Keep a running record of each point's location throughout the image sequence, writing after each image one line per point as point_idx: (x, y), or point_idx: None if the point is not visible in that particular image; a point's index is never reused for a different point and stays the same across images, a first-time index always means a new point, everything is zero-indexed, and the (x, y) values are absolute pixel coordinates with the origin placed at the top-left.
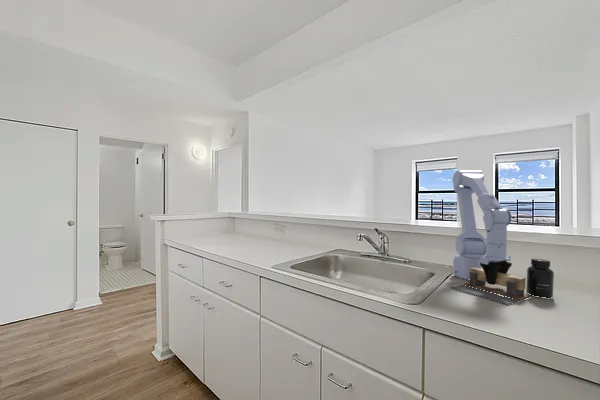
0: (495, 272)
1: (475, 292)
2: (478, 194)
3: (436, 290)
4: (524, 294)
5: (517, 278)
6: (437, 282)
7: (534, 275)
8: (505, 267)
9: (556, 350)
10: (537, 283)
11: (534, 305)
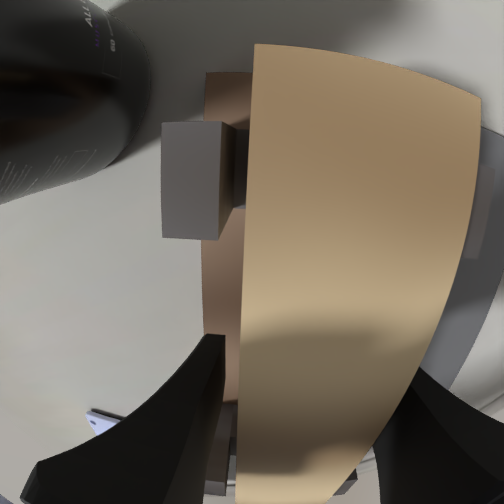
0: (478, 415)
1: (448, 344)
2: None
3: (482, 405)
4: (244, 114)
5: (468, 141)
6: (364, 466)
7: (6, 42)
8: (176, 489)
9: None
10: (86, 28)
11: (394, 22)
